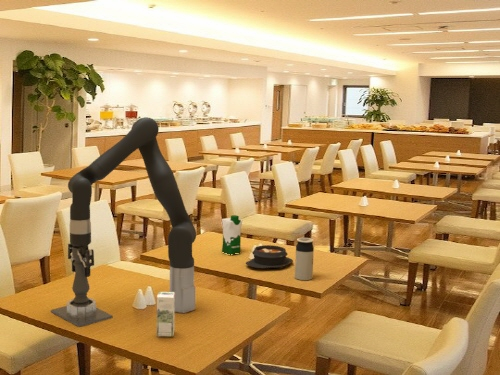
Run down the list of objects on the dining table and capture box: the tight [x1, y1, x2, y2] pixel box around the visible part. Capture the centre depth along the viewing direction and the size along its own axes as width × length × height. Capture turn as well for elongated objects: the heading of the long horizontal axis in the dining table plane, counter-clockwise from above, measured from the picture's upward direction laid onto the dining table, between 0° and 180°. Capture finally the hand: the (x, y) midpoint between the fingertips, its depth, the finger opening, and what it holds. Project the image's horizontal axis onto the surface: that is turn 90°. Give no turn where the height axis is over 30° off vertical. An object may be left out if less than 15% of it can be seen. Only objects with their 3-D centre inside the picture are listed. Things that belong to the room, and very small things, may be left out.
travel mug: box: [294, 237, 315, 281], centre depth 287 cm, size 8×8×18 cm
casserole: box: [245, 244, 294, 269], centre depth 306 cm, size 25×19×8 cm
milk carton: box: [221, 214, 243, 255], centre depth 326 cm, size 9×9×20 cm
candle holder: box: [71, 246, 90, 306], centre depth 234 cm, size 6×6×25 cm
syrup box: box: [156, 291, 176, 338], centre depth 218 cm, size 6×6×14 cm
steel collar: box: [50, 297, 114, 328], centre depth 235 cm, size 20×14×5 cm
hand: (81, 274), depth 233 cm, fingers open, 8 cm apart
